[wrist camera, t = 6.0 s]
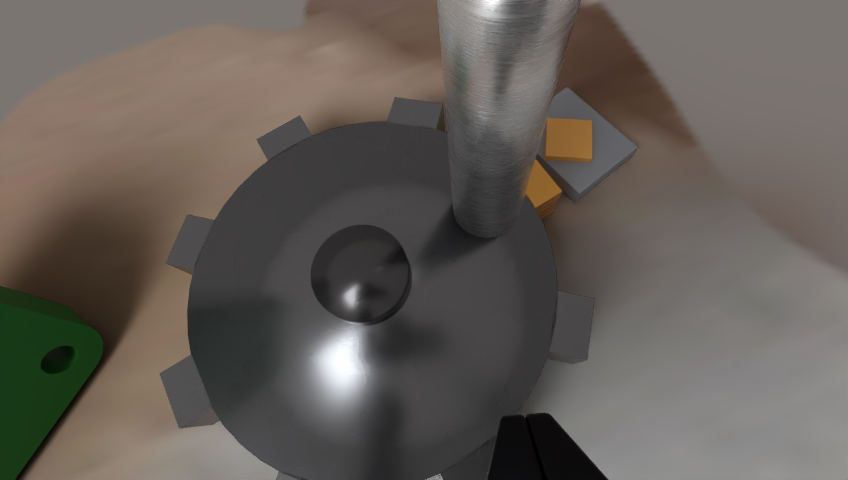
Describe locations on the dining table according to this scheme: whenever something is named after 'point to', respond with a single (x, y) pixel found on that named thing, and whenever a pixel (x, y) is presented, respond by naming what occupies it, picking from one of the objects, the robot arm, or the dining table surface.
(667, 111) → the dining table surface
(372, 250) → the sprocket
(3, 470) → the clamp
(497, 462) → the robot arm
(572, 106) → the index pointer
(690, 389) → the dining table surface
